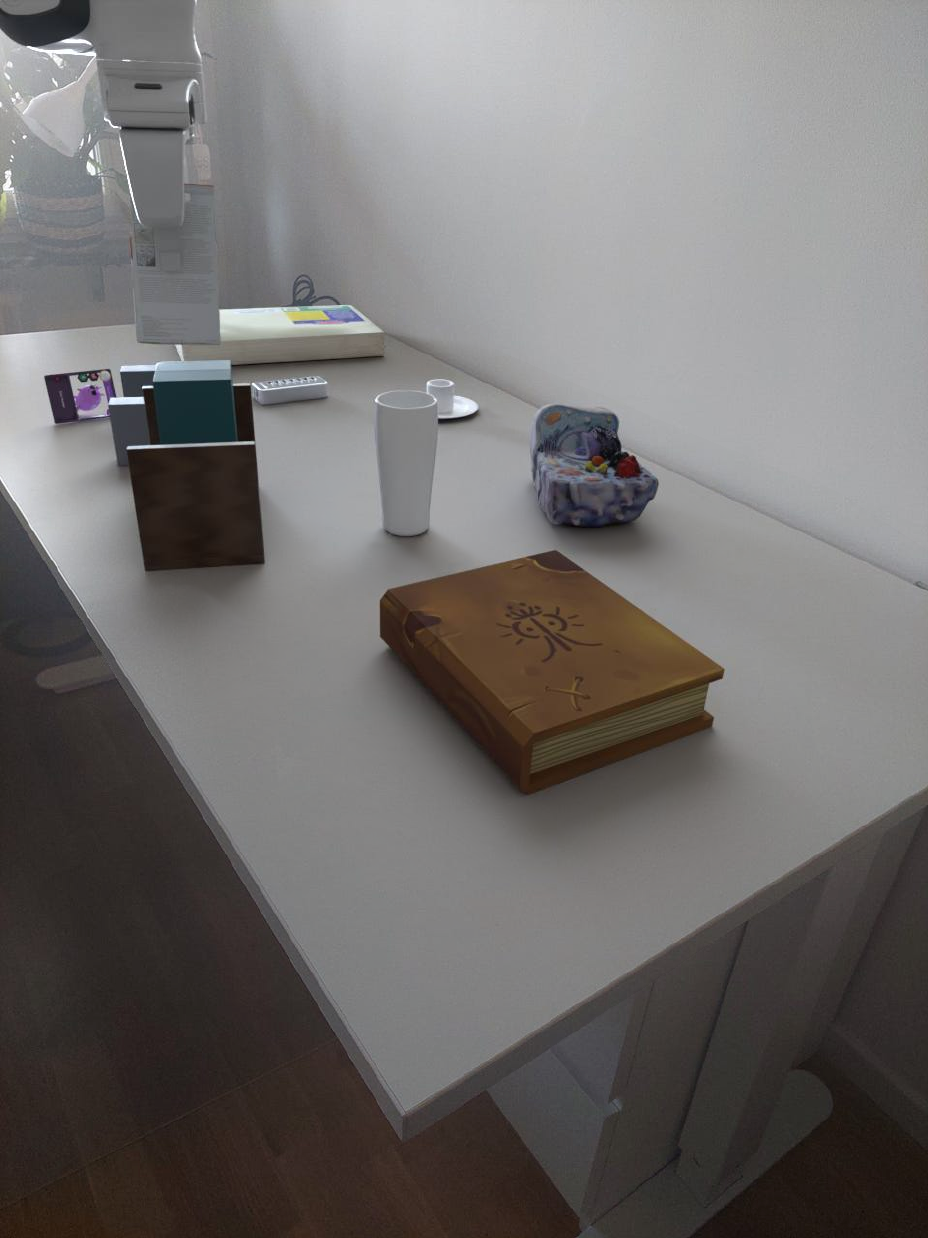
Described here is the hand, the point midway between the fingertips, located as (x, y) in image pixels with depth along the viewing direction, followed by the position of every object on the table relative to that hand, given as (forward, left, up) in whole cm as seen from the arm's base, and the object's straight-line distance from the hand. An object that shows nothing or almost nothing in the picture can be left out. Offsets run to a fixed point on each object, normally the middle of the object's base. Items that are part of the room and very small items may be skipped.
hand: (173, 265), depth 89 cm
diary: (+28, -35, -28) cm, 53 cm away
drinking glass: (+22, -2, -28) cm, 36 cm away
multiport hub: (+12, +49, -28) cm, 58 cm away
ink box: (0, 0, -7) cm, 7 cm away
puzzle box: (+11, +81, -28) cm, 86 cm away
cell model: (+44, +2, -28) cm, 53 cm away
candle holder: (+34, +40, -28) cm, 60 cm away
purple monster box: (-18, +43, -28) cm, 54 cm away
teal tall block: (0, +7, -27) cm, 28 cm away
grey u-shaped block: (-8, +31, -28) cm, 43 cm away
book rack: (0, +2, -28) cm, 28 cm away
